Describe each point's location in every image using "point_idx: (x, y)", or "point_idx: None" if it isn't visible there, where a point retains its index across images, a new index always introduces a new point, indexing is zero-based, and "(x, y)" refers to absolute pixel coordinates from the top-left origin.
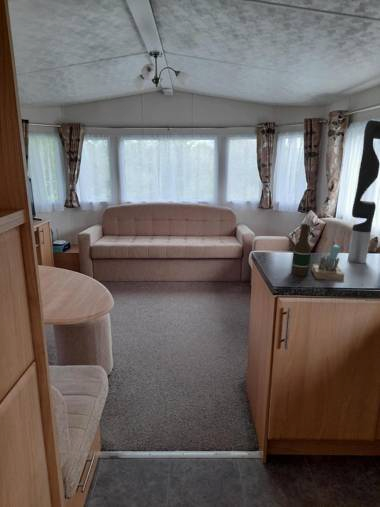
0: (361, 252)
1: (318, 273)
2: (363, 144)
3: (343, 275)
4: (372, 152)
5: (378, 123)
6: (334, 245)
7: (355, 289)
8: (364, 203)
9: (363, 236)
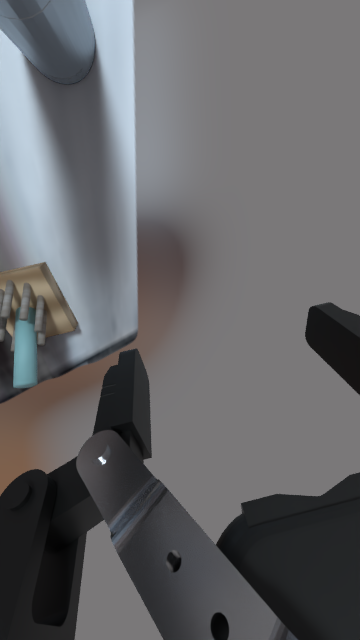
0: (62, 61)
1: None
2: None
3: (73, 330)
4: None
5: None
6: (15, 385)
7: (107, 354)
8: None
9: (24, 12)
